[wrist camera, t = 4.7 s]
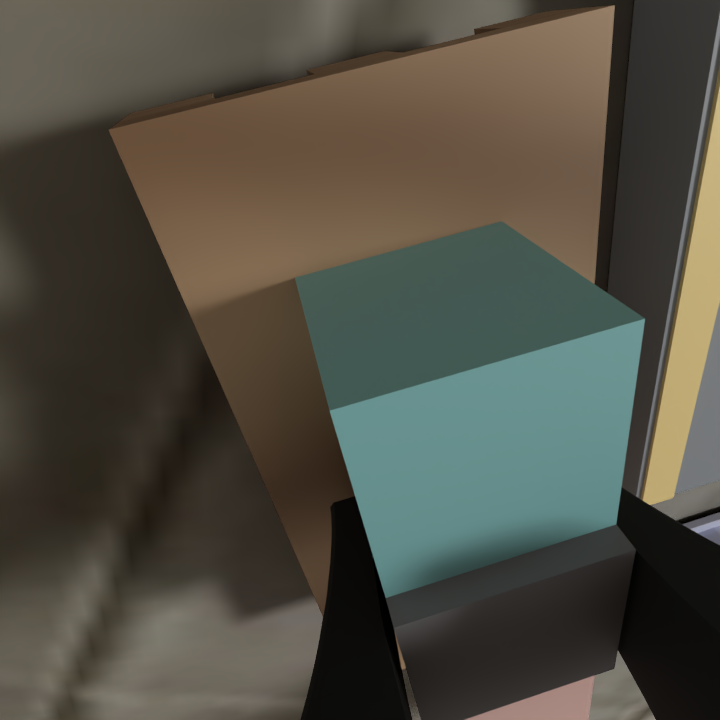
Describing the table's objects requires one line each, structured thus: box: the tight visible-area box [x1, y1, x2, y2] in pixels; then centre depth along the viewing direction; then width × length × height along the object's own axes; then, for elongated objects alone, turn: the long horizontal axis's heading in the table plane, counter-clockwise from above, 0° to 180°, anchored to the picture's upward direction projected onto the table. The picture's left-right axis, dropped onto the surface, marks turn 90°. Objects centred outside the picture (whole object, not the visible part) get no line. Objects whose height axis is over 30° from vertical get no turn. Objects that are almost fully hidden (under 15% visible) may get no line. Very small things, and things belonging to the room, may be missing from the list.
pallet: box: [109, 5, 636, 720], centre depth 12 cm, size 18×8×6 cm, turn 11°
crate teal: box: [295, 221, 645, 598], centre depth 9 cm, size 4×4×4 cm
